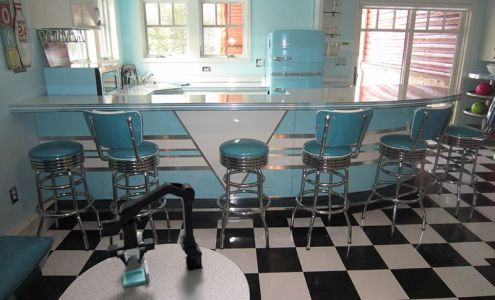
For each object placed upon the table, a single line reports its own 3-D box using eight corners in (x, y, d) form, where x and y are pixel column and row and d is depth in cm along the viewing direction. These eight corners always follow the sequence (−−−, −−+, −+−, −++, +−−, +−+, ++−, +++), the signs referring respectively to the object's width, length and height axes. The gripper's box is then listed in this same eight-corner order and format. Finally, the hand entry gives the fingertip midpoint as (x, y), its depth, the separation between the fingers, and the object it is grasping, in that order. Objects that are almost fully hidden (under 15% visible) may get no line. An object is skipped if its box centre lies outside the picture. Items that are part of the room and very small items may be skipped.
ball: (139, 269, 147) (138, 258, 146) (127, 271, 146) (126, 261, 144) (139, 262, 152) (138, 252, 150) (127, 265, 150) (125, 255, 149)
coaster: (144, 270, 156) (144, 268, 155) (146, 282, 148) (145, 279, 147) (123, 275, 153) (122, 272, 152) (123, 287, 144) (123, 284, 144)
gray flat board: (147, 267, 158) (146, 259, 157) (149, 281, 149) (149, 273, 147) (144, 267, 158) (144, 259, 157) (146, 281, 148) (146, 273, 147)
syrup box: (138, 265, 159) (136, 237, 156) (127, 264, 161) (124, 236, 157) (144, 258, 165) (142, 231, 161) (133, 257, 166) (130, 230, 162)
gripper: (150, 220, 155) (153, 251, 159) (105, 227, 148) (109, 259, 152) (153, 231, 145) (156, 264, 149) (105, 240, 138) (109, 274, 142)
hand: (133, 265), depth 148 cm, fingers closed on ball, 5 cm apart
